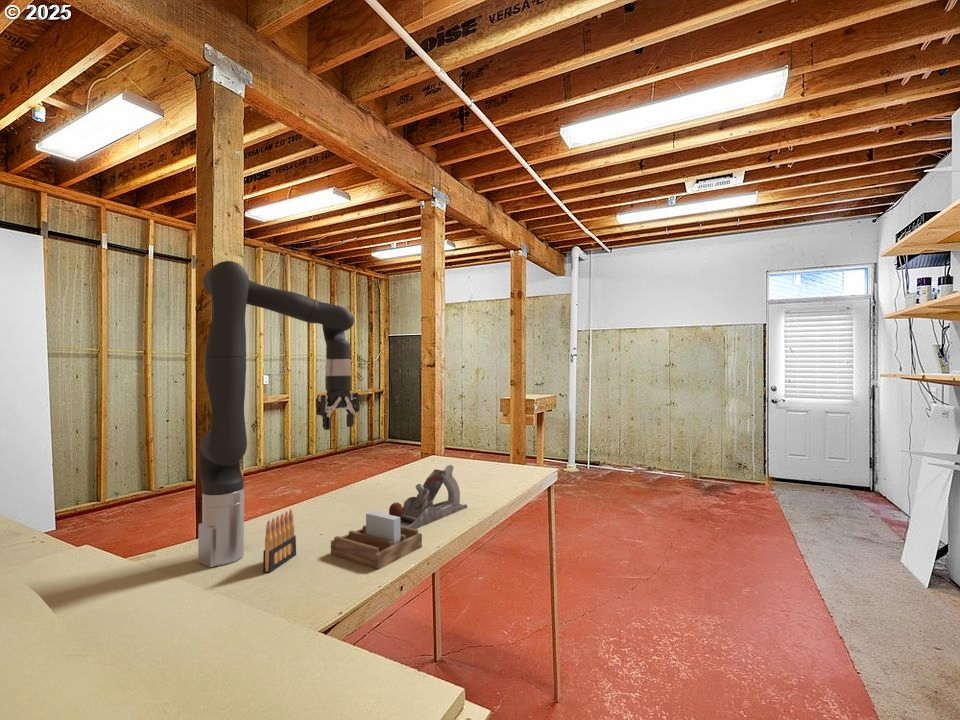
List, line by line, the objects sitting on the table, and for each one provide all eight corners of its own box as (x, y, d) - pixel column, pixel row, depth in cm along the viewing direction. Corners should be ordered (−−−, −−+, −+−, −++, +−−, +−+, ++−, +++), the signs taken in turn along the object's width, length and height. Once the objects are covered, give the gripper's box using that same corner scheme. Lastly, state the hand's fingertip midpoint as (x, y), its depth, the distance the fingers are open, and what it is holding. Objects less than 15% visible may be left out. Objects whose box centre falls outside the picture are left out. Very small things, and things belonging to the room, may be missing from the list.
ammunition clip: (269, 573, 106) (269, 521, 107) (262, 572, 107) (262, 521, 107) (296, 554, 117) (296, 508, 117) (290, 554, 117) (289, 507, 117)
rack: (378, 569, 107) (377, 550, 107) (330, 554, 117) (330, 536, 117) (421, 546, 121) (421, 530, 121) (376, 535, 130) (376, 519, 130)
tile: (394, 551, 114) (393, 519, 114) (366, 543, 120) (366, 513, 120) (400, 548, 116) (400, 517, 116) (372, 540, 122) (372, 511, 122)
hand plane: (376, 531, 134) (376, 480, 134) (449, 503, 161) (448, 461, 161) (397, 537, 129) (397, 484, 129) (468, 508, 156) (468, 464, 156)
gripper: (327, 374, 129) (327, 431, 128) (365, 374, 141) (365, 426, 140) (310, 374, 133) (310, 430, 132) (348, 374, 145) (348, 424, 144)
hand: (338, 428), depth 136 cm, fingers open, 8 cm apart
